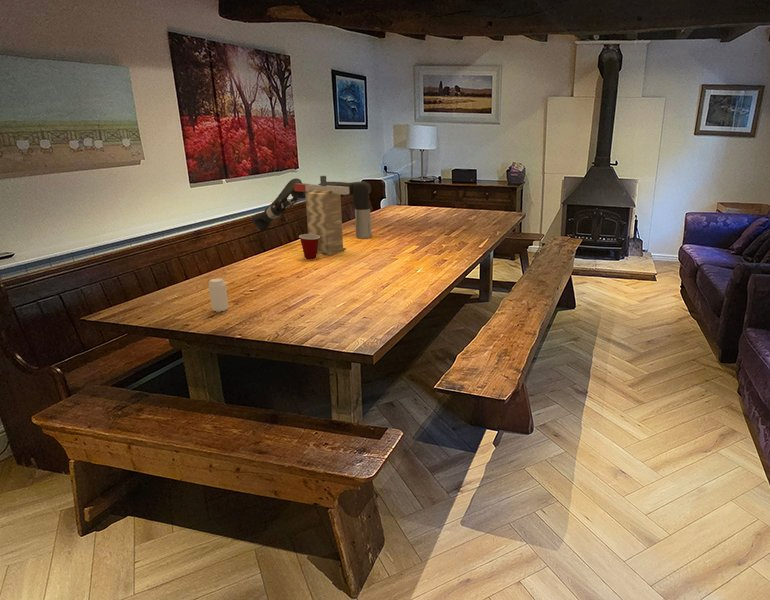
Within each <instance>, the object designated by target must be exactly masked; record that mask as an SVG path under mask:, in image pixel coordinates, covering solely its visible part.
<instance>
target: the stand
mask: <svg viewBox="0 0 770 600" xmlns="http://www.w3.org/2000/svg"><path fill="white" fill-rule="evenodd" d="M305 196H306V198H305V206H306V207H305V208H306V210H305V211H306V223H307V234H315V235H319V236H320V238H319V241H318V248H317V255H320V254H322V255H321V256H326V255H328V256H329V255H330V256H333V255H332V254H334V255H336V254H335V253H337V254H339V253H338V252H340V253H342V252H341V251H343V252H345V251H344V250H346V251H347V249H346V247H344V237H343V220H342V219H343V218H342V217H343V215H342V198H341V197H342V196H341V194H331V193H330V191H320V190H309V192H308V193H305ZM328 256H327V257H328ZM330 256H329V257H330Z"/></svg>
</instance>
